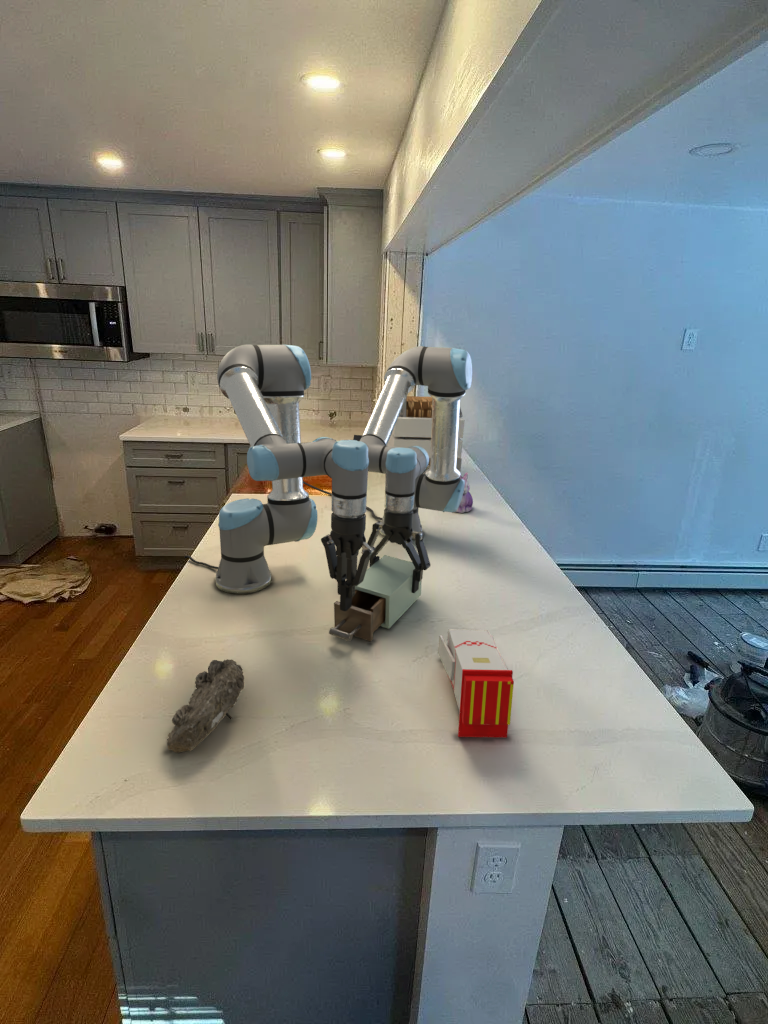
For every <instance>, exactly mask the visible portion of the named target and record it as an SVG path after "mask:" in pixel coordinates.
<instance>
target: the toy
mask: <svg viewBox="0 0 768 1024" xmlns="http://www.w3.org/2000/svg"><path fill="white" fill-rule="evenodd" d="M446 640H447V643H446V641H445V639H444V636H443V635H442V634H439V637H438V646H437V656H438V657H439V659H440V661H441V663H442V666H443V668H444V670H445V672H446V674H447V677H448V679H449V681H450V684H451V687H452V690H453V693H454V697H455V701H456V705H457V708H458V711H459V714H458V715H459V716H458V730H457V731H458V732H457V737H458V738H508V731H509V726H510V725H511V717H512V707H513V697H514V696H513V695H514V684H515V680H514V679H513V673H514V671H513V670H512V669H508V667H507V665H506V662H505V661H504V659H503V658H502V655H501V653H500V651H499V649H498V647H497V643H496V639H495V637H494V635H493V634H491V632H490V631H489V629H467V628H466V629H465V628H463V629H461V628H460V629H459V628H448V630H447V639H446Z"/></svg>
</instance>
